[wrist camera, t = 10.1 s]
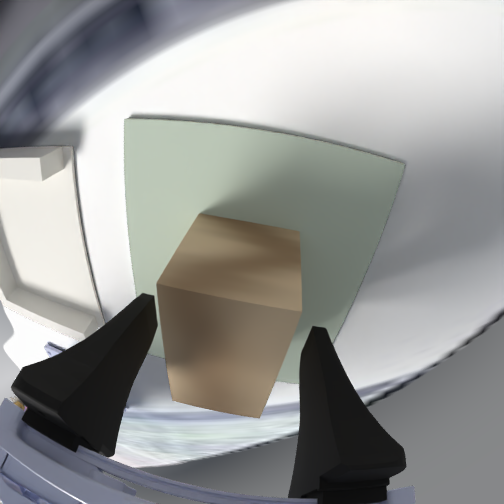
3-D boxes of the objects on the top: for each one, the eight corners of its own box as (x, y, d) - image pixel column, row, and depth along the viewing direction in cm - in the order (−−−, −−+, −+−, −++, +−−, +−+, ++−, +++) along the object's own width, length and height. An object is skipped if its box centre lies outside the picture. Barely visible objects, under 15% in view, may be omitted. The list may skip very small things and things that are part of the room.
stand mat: (309, 381, 19) (309, 385, 19) (148, 350, 20) (147, 353, 19) (402, 163, 11) (405, 164, 10) (127, 118, 11) (124, 119, 11)
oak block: (299, 231, 13) (302, 311, 8) (267, 345, 17) (259, 418, 13) (199, 213, 13) (156, 283, 9) (195, 331, 17) (172, 400, 13)
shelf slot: (106, 327, 19) (94, 346, 17) (15, 292, 19) (3, 306, 18) (72, 146, 12) (47, 157, 10) (-23, 150, 12) (-42, 160, 10)
